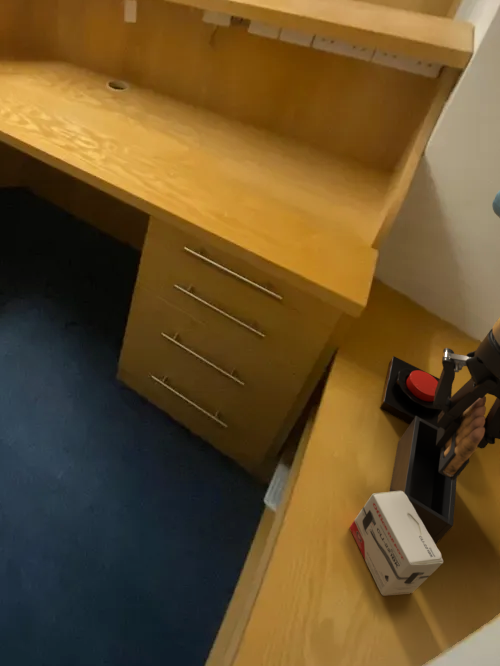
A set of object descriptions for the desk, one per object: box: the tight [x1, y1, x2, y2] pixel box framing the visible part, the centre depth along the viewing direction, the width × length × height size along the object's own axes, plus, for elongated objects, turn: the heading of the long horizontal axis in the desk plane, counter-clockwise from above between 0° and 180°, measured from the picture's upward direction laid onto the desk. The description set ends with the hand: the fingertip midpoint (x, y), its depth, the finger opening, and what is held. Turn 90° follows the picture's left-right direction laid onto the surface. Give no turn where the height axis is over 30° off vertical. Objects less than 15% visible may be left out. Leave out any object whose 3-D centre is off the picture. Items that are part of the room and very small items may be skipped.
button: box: [406, 370, 438, 402], centre depth 95 cm, size 5×5×2 cm
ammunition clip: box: [439, 395, 487, 481], centre depth 74 cm, size 11×2×12 cm, turn 142°
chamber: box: [388, 416, 458, 546], centre depth 82 cm, size 6×15×8 cm, turn 142°
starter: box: [379, 355, 453, 428], centre depth 97 cm, size 12×10×4 cm
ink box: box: [349, 491, 444, 597], centre depth 74 cm, size 8×5×12 cm, turn 5°
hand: (449, 444), depth 77 cm, fingers closed on ammunition clip, 2 cm apart
